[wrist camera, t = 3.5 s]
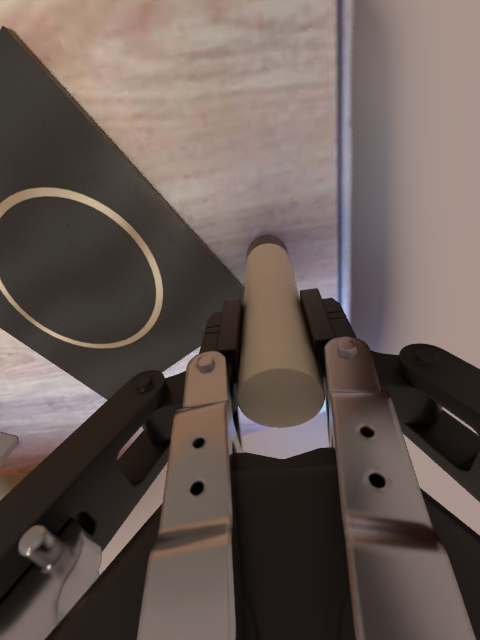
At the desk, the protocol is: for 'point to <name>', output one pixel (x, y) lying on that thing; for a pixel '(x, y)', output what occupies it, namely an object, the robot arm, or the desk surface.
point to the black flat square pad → (91, 242)
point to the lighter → (6, 445)
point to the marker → (275, 343)
